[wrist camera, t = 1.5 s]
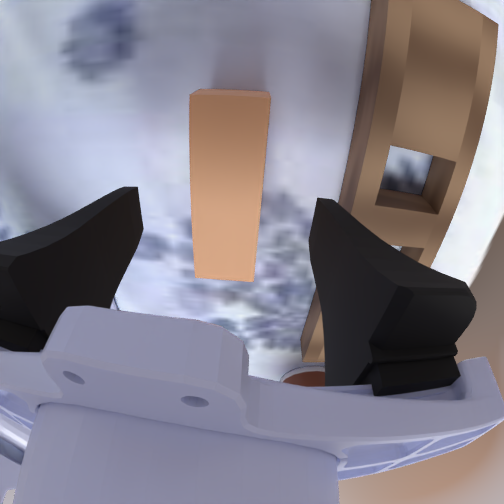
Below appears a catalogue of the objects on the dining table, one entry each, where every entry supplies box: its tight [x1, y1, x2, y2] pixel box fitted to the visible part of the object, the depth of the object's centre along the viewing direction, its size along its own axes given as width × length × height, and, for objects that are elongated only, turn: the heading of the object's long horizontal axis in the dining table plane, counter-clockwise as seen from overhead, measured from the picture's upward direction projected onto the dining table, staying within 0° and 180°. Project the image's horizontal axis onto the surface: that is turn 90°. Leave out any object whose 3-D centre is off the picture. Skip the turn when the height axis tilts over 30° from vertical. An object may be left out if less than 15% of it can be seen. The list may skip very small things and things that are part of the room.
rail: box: [300, 0, 498, 362], centre depth 17 cm, size 28×7×2 cm, turn 176°
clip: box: [189, 89, 271, 282], centre depth 15 cm, size 9×3×5 cm, turn 176°
